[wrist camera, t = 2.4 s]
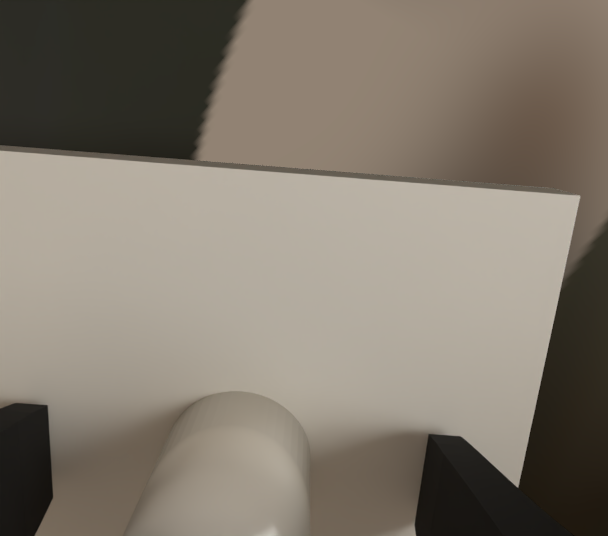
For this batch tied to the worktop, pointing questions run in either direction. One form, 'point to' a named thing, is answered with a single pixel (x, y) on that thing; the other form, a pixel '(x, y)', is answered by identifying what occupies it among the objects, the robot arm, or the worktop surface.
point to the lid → (267, 337)
